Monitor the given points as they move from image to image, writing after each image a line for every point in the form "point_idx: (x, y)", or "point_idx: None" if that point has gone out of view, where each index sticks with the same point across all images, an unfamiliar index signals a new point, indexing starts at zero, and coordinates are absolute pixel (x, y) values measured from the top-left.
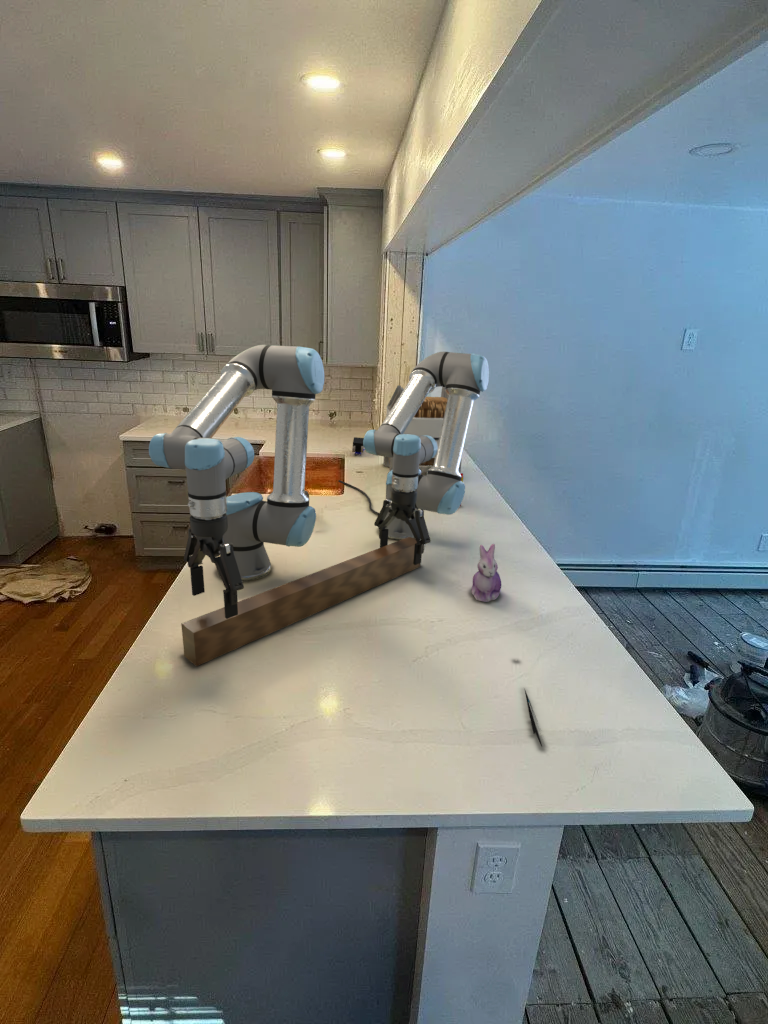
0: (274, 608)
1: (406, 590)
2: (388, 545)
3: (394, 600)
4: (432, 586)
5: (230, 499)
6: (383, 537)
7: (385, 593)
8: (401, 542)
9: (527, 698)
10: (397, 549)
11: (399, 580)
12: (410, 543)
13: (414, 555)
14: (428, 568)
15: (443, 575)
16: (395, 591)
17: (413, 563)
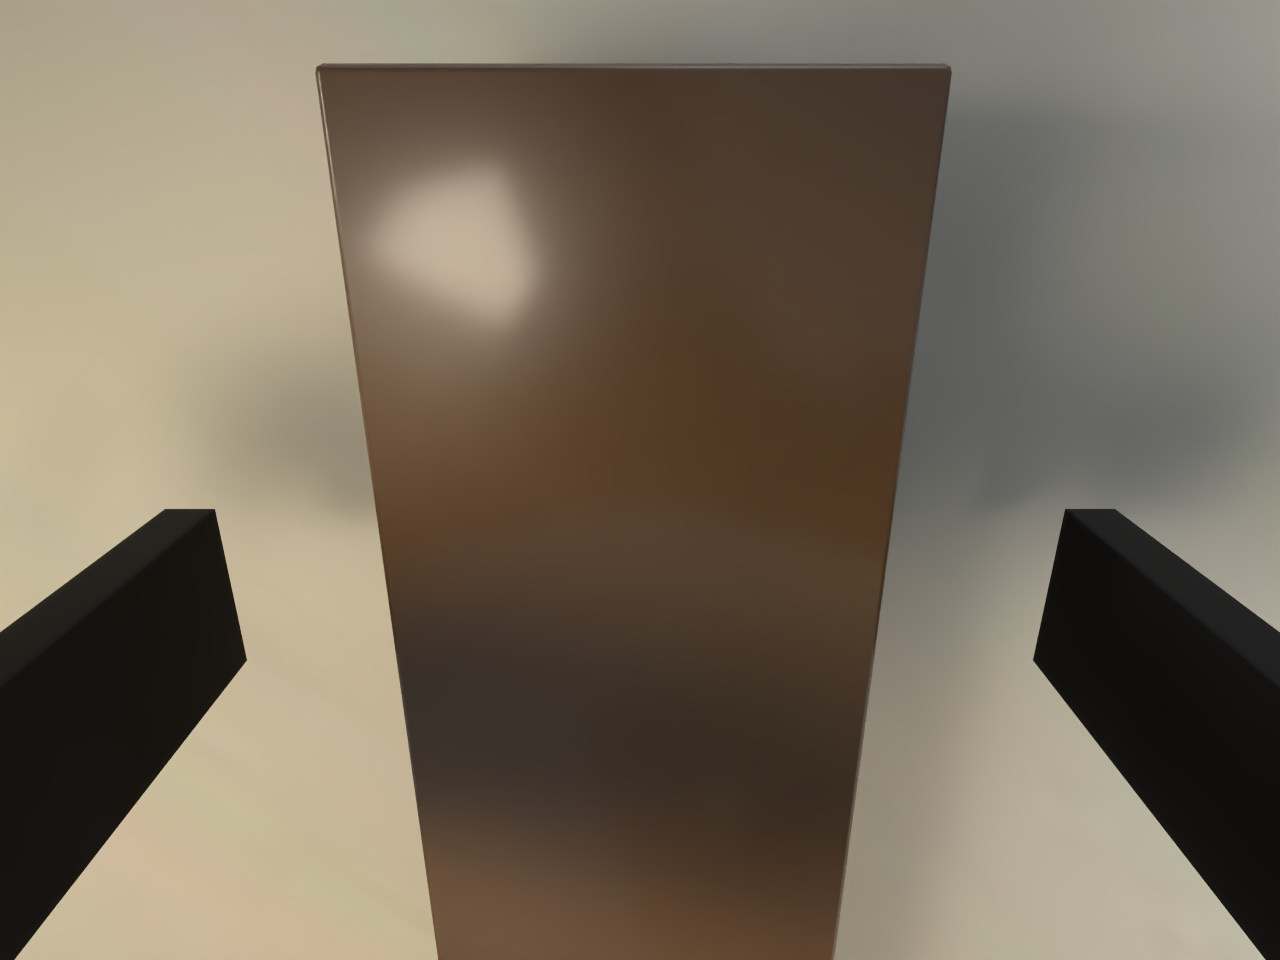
0: None
1: (1038, 767)
2: (472, 931)
3: (1050, 957)
4: (1263, 493)
5: None
6: (63, 836)
7: (899, 930)
8: (532, 623)
9: None
10: (761, 939)
11: None
12: (753, 493)
13: (1148, 787)
14: (926, 47)
15: (1271, 71)
16: (954, 850)
17: (1046, 672)
